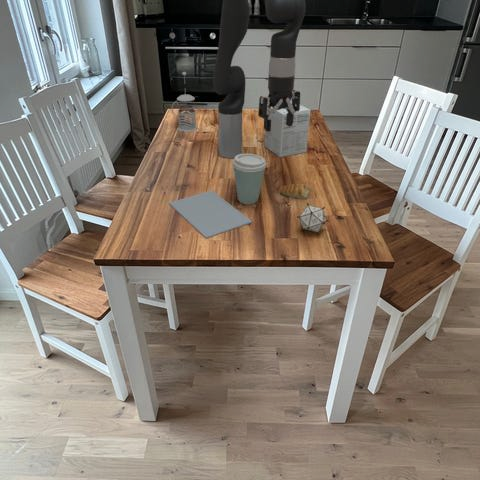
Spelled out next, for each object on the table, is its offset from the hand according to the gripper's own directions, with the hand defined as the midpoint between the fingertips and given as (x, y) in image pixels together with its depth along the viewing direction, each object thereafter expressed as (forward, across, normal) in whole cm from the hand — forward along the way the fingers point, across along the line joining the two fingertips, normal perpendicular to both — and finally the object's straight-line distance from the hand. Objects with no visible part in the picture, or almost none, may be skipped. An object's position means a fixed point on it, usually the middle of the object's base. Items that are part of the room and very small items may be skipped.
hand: (278, 128), depth 128 cm
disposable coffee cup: (+22, +10, 0) cm, 25 cm away
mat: (+22, +26, -1) cm, 34 cm away
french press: (+22, -6, -73) cm, 77 cm away
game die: (+23, +6, +25) cm, 34 cm away
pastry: (+23, -5, +5) cm, 24 cm away
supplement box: (+22, -28, -28) cm, 45 cm away
